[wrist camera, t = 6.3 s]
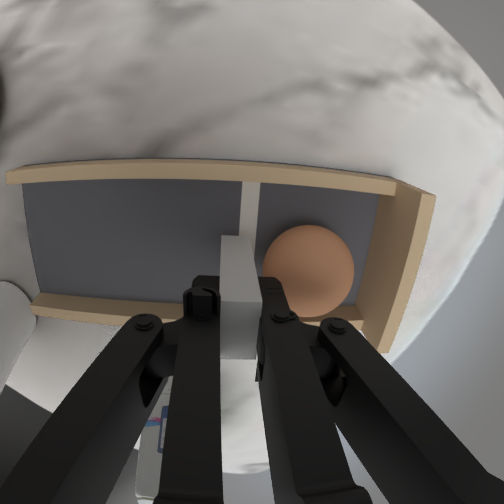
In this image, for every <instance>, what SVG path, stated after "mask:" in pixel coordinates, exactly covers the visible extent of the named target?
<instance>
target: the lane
mask: <svg viewBox="0 0 504 504" xmlns="http://www.w3.org/2000/svg"><path fill="white" fill-rule="evenodd" d="M5 175H6V185H10V184H21V183H22V188H23V198H24V207H25V215H26V222H27V229H28V235H29V241H30V247H31V252H32V257H33V262H34V267H35V271H36V276H37V280H38V284H39V288H40V294H39V295H38V296H37V297H36V298H35V299H34V300H33V302H32V303H31V304H30V308H31V311H32V315H38V316H45V317H51V318H58V319H66V320H73V321H81V322H89V323H98V324H108V325H118V326H123V325H124V324H125V323H126V322H127V321H128V320H129V319H130V318H131V317H132V316H135V315H138V314H144V313H147V314H153V315H156V316H158V317H159V318H160V319H162V323H166V322H172V321H176V320H178V319H180V318H182V317H183V315H184V314H183V294H184V292H185V291H186V290H188V289H189V288H191V286H192V281H193V279H194V278H196V277H197V276H198V275H210V276H220V256H221V235H230V236H249V238H250V242H251V247H252V252H253V257H254V262H255V267H256V272H257V276H258V277H263V274H262V269H263V262H264V258H265V255H266V252H267V250H268V248H269V247H270V245H271V244H272V242H273V241H274V240H275V239H276V238H277V237H278V236H279V235H281V234H282V233H283V232H285V231H287V230H289V229H291V228H294V227H297V226H301V225H316V226H320V227H324V228H326V229H329V230H330V231H332V232H334V233H335V234H337V235H338V236H339V237H340V238H341V239H342V240H343V241H344V242H345V244H346V245H347V247H348V249H349V250H350V253H351V255H352V258H353V263H354V278H353V283H352V286H351V289H350V291H349V293H348V295H347V297H346V298H345V299H344V300H343V302H342V303H341V304H340V305H339V306H337V307H336V308H335V309H334V310H332V311H330V312H328V313H326V314H324V315H321V316H316V317H300V316H298V317H299V320H300V321H301V322H303V323H306V324H310V325H315V326H320V322H321V321H322V320H323V319H326V318H328V317H337V318H342V319H344V320H346V321H348V322H349V323H351V324H352V325H353V326H354V327H355V328H356V329H357V330H362V332H363V334H364V336H365V337H366V339H367V341H368V342H369V343H370V344H371V345H372V346H373V347H374V348H375V349H376V350H377V351H378V352H379V353H389V350H390V348H391V345H392V343H393V341H394V338H395V335H396V333H397V330H398V328H399V325H400V322H401V320H402V317H403V314H404V311H405V309H406V306H407V303H408V300H409V297H410V294H411V291H412V288H413V285H414V282H415V278H416V275H417V272H418V269H419V265H420V262H421V258H422V255H423V251H424V247H425V243H426V240H427V236H428V232H429V227H430V223H431V219H432V214H433V210H434V205H435V200H436V196H435V195H433V194H431V193H429V192H426V191H424V190H422V189H419V188H417V187H415V186H412V185H410V184H407V183H405V182H402V181H400V180H397V179H395V178H392V177H388V176H382V175H376V174H369V173H362V172H355V171H348V170H340V169H332V168H324V167H315V166H306V165H296V164H285V163H273V162H260V161H245V160H226V159H200V158H122V159H97V160H79V161H65V162H53V163H42V164H32V165H25V166H22V167H19V168H16V169H13V170H10V171H7V172H5Z"/></svg>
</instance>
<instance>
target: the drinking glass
mask: <svg viewBox="0 0 504 504" xmlns="http://www.w3.org/2000/svg"><path fill="white" fill-rule="evenodd" d="M30 304H31V302H30V300H29V299H28V297H27V296H26V295H25V293H24V292H23V291H22V290H21V289H19V288H18V287H17V286H15V285H14V284H12V283H9V282H5V281H0V394H1V392H2V390H3V387H4V385H5V383H6V381H7V379H8V377H9V375H10V373H11V370H12V368H13V366H14V364H15V363H16V361H17V359H18V357H19V355H20V353H21V351H22V349H23V347H24V346H25V344H26V342H27V341H28V340H29V338H30V337H31V335H32V334H33V332H34V330H35V327H36V315H32V311H31V308H30Z"/></svg>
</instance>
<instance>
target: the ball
mask: <svg viewBox="0 0 504 504" xmlns="http://www.w3.org/2000/svg"><path fill="white" fill-rule="evenodd" d="M262 274H263V277H275V278H277V279H278V280H279V281H280V282H281V284H282V287H283V290H284V293H285V296H286V299H287V302H288V305H289V308H290V310H292V311H293V312H295V313H296V314H297V315H298V316H300V317H316V316H321V315H324V314H326V313H328V312H330V311H332V310H334V309H335V308H336V307H337V306H339V305H340V304H341V303H342V302H343V300H344V299H345V298H346V297H347V295H348V293H349V291H350V289H351V286H352V283H353V278H354V263H353V258H352V255H351V253H350V250H349V249H348V247H347V245H346V244H345V242H344V241H343V240H342V239H341V238H340V237H339V236H338V235H337V234H335V233H334V232H332V231H330V230H329V229H326V228H324V227H320V226H316V225H301V226H297V227H294V228H291V229H289V230H287V231H285V232H283V233H282V234H281V235H279V236H278V237H277V238H276V239H275V240H274V241H273V242H272V244H271V245H270V247H269V248H268V250H267V252H266V255H265V258H264V262H263V269H262Z"/></svg>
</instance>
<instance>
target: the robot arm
mask: <svg viewBox="0 0 504 504" xmlns="http://www.w3.org/2000/svg"><path fill="white" fill-rule="evenodd" d="M183 314H184V315H183V317H182V318H180V319H178V320H176V321H172V322H166V323H162V319H160V318H159V317H158V316H156V315H153V314H147V313H144V314H138V315H135V316H132V317H131V318H130V319H129V320H128V321H127V322H126V323H125V324H124V325H123V326H122V328H121V329H120V330H119V331H118V332H117V334H116V335H115V336H114V337H113V338H112V340H111V341H110V342H109V343H108V344H107V346H106V347H105V348H104V349H103V351H102V352H101V353H100V354H99V355H98V357H97V358H96V359H95V360H94V362H93V363H92V364H91V365H90V367H89V368H88V369H87V370H86V372H85V373H84V374H83V375H82V377H81V378H80V379H79V380H78V382H77V383H76V384H75V385H74V387H73V388H72V389H71V391H70V392H69V393H68V394H67V396H66V397H65V398H64V400H63V401H62V402H61V404H60V405H59V406H58V407H57V409H56V410H55V411H54V413H53V414H52V415H51V417H50V418H49V420H48V421H47V422H46V423H45V425H44V426H43V427H42V429H41V430H40V432H39V433H38V434H37V436H36V437H35V438H34V440H33V441H32V443H31V444H30V445H29V447H28V448H27V450H26V451H25V453H24V454H23V455H22V457H21V458H20V460H19V461H18V463H17V464H16V466H15V467H14V468H13V470H12V471H11V473H10V474H9V476H8V477H7V479H6V480H5V482H4V483H3V485H2V486H1V488H0V504H105V503H106V501H107V499H108V497H109V495H110V493H111V491H112V489H113V487H114V485H115V483H116V481H117V479H118V477H119V475H120V473H121V471H122V469H123V467H124V465H125V464H126V462H127V460H128V457H129V456H130V454H131V452H132V449H133V448H134V446H135V444H136V442H137V440H138V438H139V436H140V434H141V432H142V430H143V428H144V426H145V424H146V422H147V420H148V418H149V417H150V415H151V413H152V411H153V409H154V407H155V405H156V403H157V401H158V399H159V397H160V395H161V393H162V391H163V389H164V388H165V386H166V384H167V382H168V379H169V376H173V379H172V386H171V392H170V399H169V406H168V414H167V421H166V429H165V437H164V445H163V453H162V462H161V472H160V482H159V490H158V494H157V496H156V497H155V498H154V501H153V504H224V501H223V482H222V451H221V403H220V359H256V354H257V356H258V362H257V370H256V377H255V382H258V383H259V390H260V398H261V406H262V413H263V421H264V428H265V436H266V443H267V450H268V458H269V465H270V472H271V480H272V487H273V494H274V501H275V504H373V503H372V500H371V497H370V495H369V493H368V491H367V490H366V489H365V488H364V487H361V486H358V485H356V484H355V483H354V481H353V478H352V475H351V472H350V469H349V466H348V462H347V459H346V456H345V453H344V450H343V447H342V444H341V441H340V438H339V435H338V432H337V428H336V425H337V427H338V428H339V430H340V431H341V433H342V434H343V436H344V437H345V439H346V440H347V442H348V443H349V445H350V446H351V448H352V449H353V451H354V452H355V454H356V455H357V457H358V458H359V460H360V461H361V463H362V464H363V466H364V467H365V469H366V470H367V472H368V473H369V474H370V476H371V477H372V479H373V480H374V482H375V483H376V485H377V486H378V488H379V489H380V491H381V492H382V493H383V495H384V496H385V498H386V499H387V501H388V502H389V504H504V481H502V480H501V479H499V478H497V477H495V476H493V475H492V474H490V473H488V472H487V471H486V470H485V469H484V467H483V466H482V465H481V464H480V463H479V462H478V460H477V459H476V458H475V457H474V456H473V455H472V454H471V453H470V451H469V450H468V449H467V448H466V447H465V446H464V445H463V444H462V442H461V441H459V439H458V438H457V437H456V436H455V435H454V433H453V432H452V431H451V430H450V429H449V428H448V427H447V426H446V425H445V424H444V423H443V421H442V420H441V419H440V418H439V417H438V416H437V415H436V414H435V413H434V411H433V410H432V409H431V408H430V407H429V406H428V405H427V404H426V403H425V402H424V401H423V399H422V398H421V397H420V396H419V395H418V394H417V393H416V392H415V391H414V390H413V389H412V388H411V387H410V385H409V384H408V383H407V382H406V381H405V380H404V379H403V378H402V377H401V376H400V375H399V374H398V372H397V371H396V370H395V369H394V368H393V367H392V366H391V365H390V364H389V363H388V362H387V361H386V360H385V359H384V358H383V357H382V355H381V354H380V353H379V352H378V351H377V350H376V349H375V348H374V347H373V346H372V345H371V344H370V343H369V342H368V341H367V340H366V339H365V338H364V336H363V335H362V334H361V333H360V332H359V331H358V330H357V329H356V328H355V327H354V326H353V325H352V324H351V323H349V322H348V321H346V320H344V319H342V318H337V317H328V318H326V319H323V320H322V321H321V322H320V326H315V325H310V324H306V323H303V322H301V321H300V320H299V317H298V315H297V314H296V313H295V312H293V311H292V310H290V308H289V305H288V302H287V299H286V296H285V293H284V290H283V287H282V284H281V282H280V281H279V280H278V279H277V278H275V277H258V276H257V272H256V267H255V262H254V257H253V252H252V247H251V242H250V238H249V236H230V235H221V256H220V276H210V275H198V276H197V277H196V278H194V279H193V281H192V286H191V288H189V289H188V290H186V291H185V292H184V294H183ZM335 424H336V425H335Z"/></svg>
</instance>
